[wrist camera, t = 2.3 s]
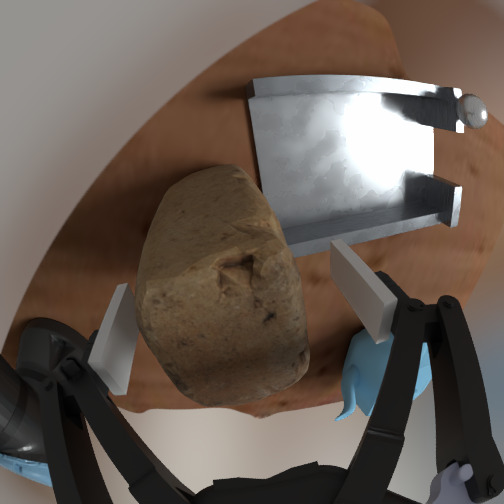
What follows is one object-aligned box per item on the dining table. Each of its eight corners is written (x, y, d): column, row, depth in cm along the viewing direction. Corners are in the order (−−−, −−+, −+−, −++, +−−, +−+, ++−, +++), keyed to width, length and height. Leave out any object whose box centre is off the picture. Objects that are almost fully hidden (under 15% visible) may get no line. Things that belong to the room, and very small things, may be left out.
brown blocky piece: (168, 173, 25) (97, 290, 8) (242, 155, 26) (324, 235, 8) (196, 266, 31) (198, 435, 13) (260, 250, 31) (325, 406, 13)
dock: (269, 242, 31) (295, 294, 22) (245, 85, 23) (267, 66, 14) (434, 208, 32) (483, 237, 24) (433, 89, 24) (492, 93, 16)
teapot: (398, 287, 38) (449, 344, 26) (420, 330, 45) (457, 377, 33) (308, 358, 42) (336, 427, 30) (349, 386, 49) (374, 438, 37)
